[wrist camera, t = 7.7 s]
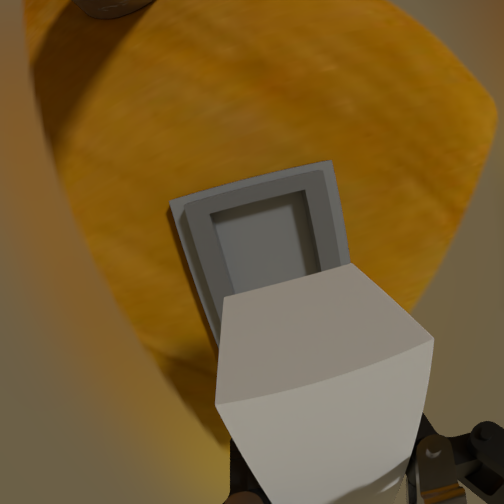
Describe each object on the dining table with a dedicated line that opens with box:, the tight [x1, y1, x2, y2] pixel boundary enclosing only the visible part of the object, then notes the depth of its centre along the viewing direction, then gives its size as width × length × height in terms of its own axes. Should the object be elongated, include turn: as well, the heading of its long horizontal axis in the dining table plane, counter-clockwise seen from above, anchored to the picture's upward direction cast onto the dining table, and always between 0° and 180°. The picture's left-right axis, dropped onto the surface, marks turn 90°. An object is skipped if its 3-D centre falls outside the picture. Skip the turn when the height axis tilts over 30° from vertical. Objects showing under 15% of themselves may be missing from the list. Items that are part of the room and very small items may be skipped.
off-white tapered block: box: [215, 263, 434, 504], centre depth 9 cm, size 4×12×5 cm, turn 14°
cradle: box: [169, 160, 350, 348], centre depth 22 cm, size 12×18×2 cm, turn 14°
